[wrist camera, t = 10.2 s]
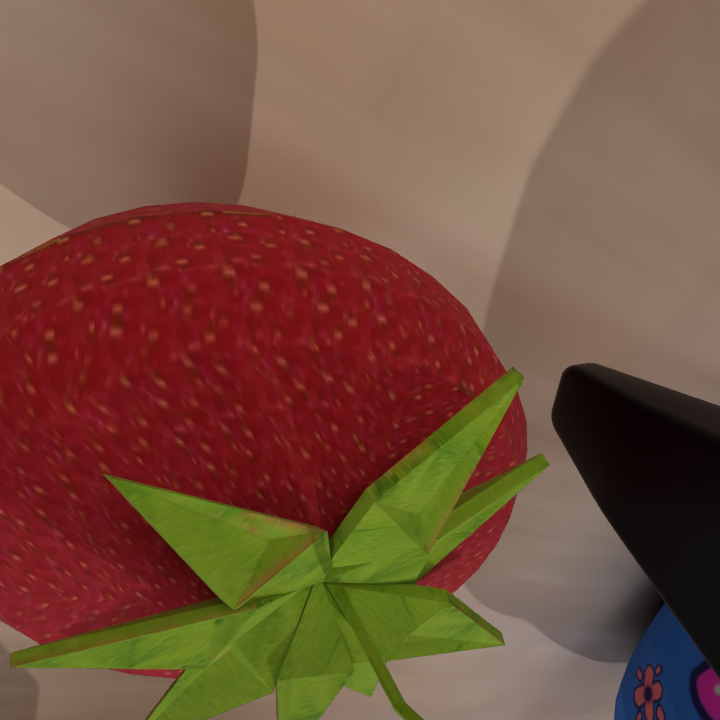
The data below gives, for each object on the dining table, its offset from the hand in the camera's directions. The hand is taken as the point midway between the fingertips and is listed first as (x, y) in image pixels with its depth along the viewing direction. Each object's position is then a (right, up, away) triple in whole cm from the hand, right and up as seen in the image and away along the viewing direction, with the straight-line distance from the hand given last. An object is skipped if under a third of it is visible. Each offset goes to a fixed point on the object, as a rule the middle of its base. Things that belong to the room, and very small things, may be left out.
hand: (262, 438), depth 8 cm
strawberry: (-2, +3, +5) cm, 6 cm away
